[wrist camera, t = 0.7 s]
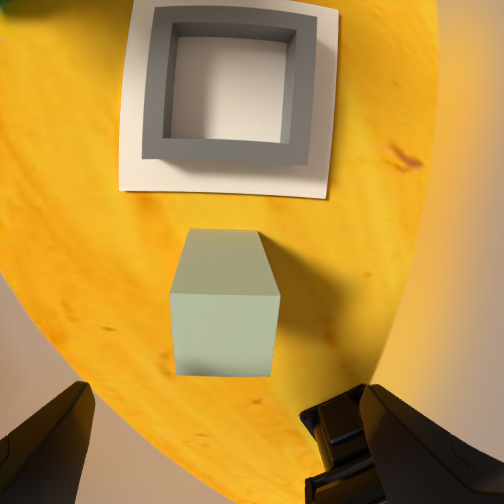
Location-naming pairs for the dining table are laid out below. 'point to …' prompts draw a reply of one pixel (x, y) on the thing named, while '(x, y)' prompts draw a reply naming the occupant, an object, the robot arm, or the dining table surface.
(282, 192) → the socket
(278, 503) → the dining table surface
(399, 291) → the dining table surface
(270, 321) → the sage block
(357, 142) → the dining table surface
